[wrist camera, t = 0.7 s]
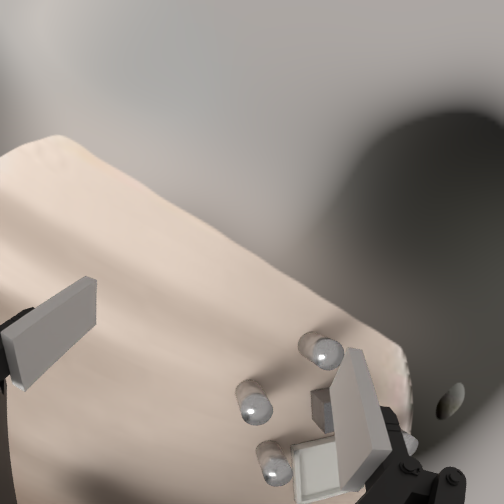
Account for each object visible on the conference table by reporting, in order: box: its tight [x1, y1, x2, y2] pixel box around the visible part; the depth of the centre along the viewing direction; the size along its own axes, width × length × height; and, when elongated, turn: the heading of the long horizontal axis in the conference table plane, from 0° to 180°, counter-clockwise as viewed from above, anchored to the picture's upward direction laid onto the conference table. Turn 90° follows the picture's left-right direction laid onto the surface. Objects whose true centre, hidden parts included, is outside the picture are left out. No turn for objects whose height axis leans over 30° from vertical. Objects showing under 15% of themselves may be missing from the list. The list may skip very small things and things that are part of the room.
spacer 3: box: [298, 332, 344, 370], centre depth 43 cm, size 4×4×8 cm
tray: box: [291, 435, 364, 504], centre depth 44 cm, size 13×13×2 cm
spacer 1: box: [235, 380, 273, 425], centre depth 41 cm, size 4×4×8 cm
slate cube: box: [311, 387, 334, 434], centre depth 44 cm, size 5×5×6 cm
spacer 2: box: [256, 441, 293, 486], centre depth 40 cm, size 4×4×8 cm
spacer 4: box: [401, 429, 418, 456], centre depth 43 cm, size 4×4×8 cm
